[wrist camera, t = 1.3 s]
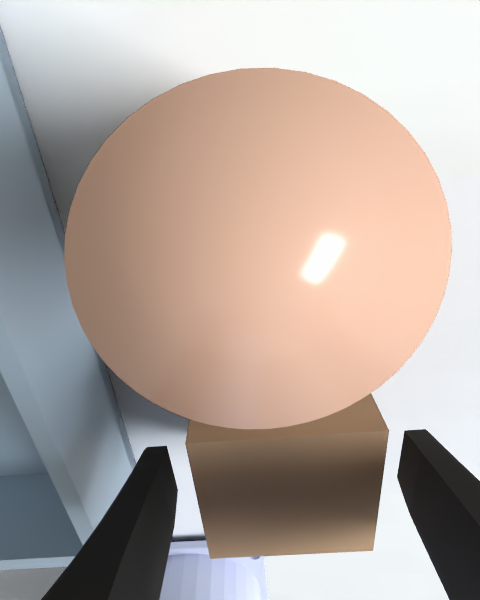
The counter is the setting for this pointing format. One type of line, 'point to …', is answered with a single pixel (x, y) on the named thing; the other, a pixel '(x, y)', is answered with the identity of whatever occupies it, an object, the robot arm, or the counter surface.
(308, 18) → the counter surface
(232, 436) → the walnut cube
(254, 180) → the terracotta cylinder
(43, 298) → the tote
